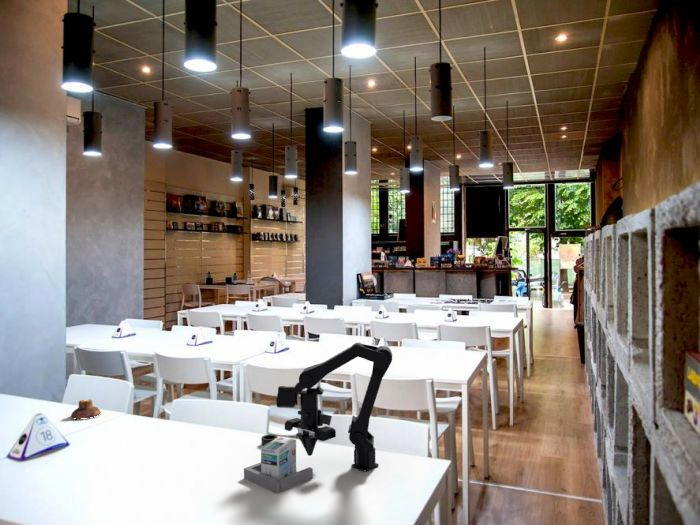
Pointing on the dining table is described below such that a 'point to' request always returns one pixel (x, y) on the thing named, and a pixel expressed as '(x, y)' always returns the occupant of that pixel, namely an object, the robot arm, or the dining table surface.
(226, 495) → the dining table surface
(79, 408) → the brown fuzzy lump
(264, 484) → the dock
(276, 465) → the light bulb box
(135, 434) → the dining table surface
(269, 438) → the duct tape
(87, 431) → the dining table surface
